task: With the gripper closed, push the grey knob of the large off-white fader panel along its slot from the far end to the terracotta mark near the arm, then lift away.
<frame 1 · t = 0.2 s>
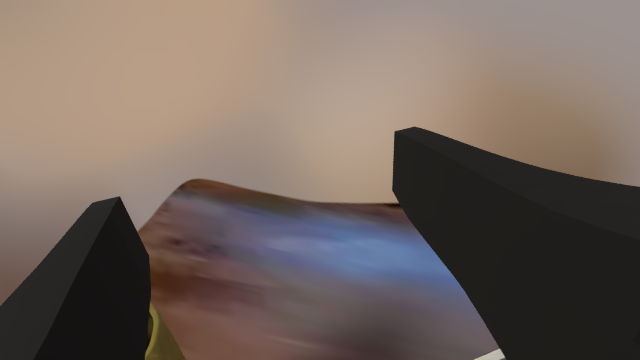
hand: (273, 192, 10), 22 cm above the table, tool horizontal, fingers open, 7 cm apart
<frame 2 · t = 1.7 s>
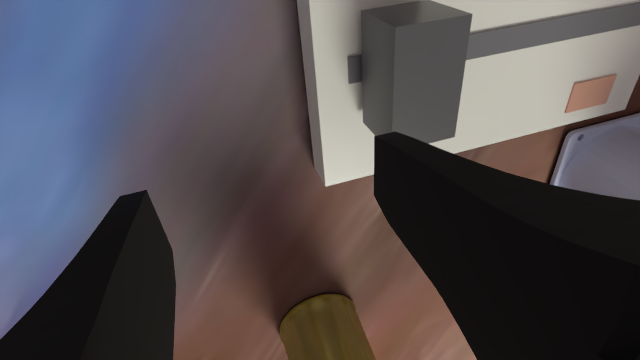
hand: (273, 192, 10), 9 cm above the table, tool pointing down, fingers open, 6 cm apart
fader panel: (484, 29, 20), on the table
vase: (316, 317, 30), on the table
fader knob: (409, 76, 16), point 4 cm above the table, slide at 0.0 cm
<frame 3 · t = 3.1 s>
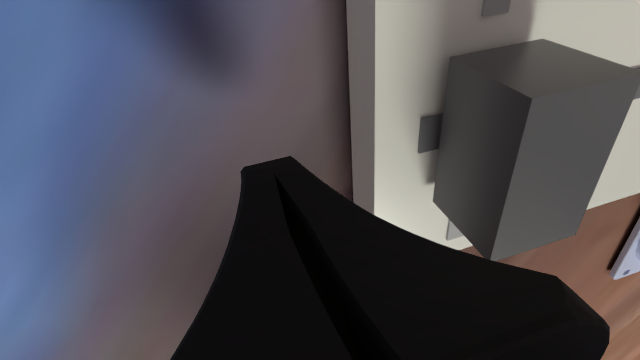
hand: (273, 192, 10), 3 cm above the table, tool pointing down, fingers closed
fader panel: (585, 66, 15), on the table
fader knob: (516, 150, 11), point 4 cm above the table, slide at 0.0 cm
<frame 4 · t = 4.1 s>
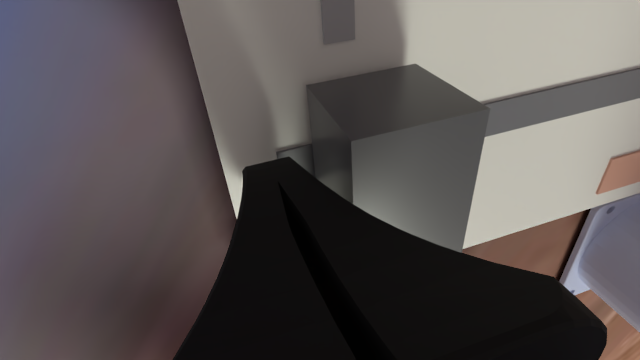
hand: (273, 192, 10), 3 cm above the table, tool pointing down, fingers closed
fader panel: (488, 88, 14), on the table
fader knob: (386, 185, 10), point 4 cm above the table, slide at 0.5 cm, touching gripper
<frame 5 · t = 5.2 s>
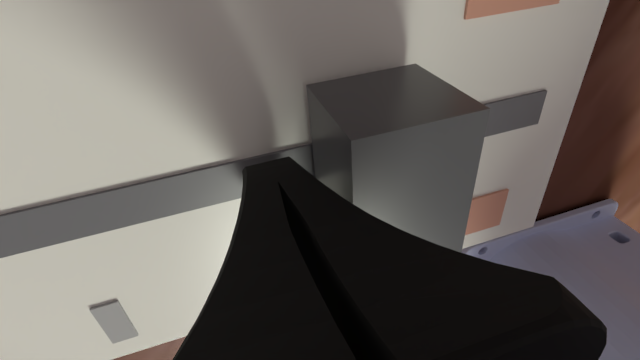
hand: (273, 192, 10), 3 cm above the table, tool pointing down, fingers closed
fader panel: (281, 134, 13), on the table
fader knob: (386, 184, 10), point 4 cm above the table, slide at 8.4 cm, touching gripper
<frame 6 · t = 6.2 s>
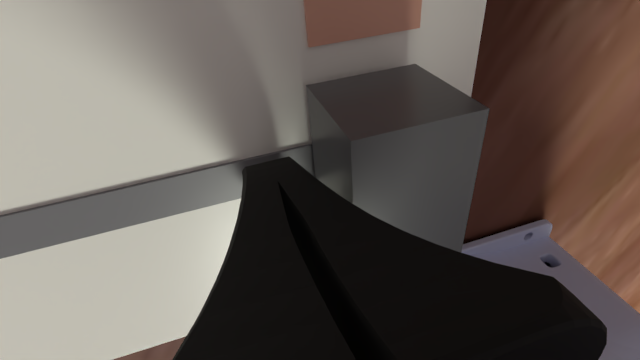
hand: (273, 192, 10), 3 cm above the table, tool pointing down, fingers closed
fader panel: (144, 164, 12), on the table
fader knob: (386, 184, 10), point 4 cm above the table, slide at 12.8 cm, touching gripper
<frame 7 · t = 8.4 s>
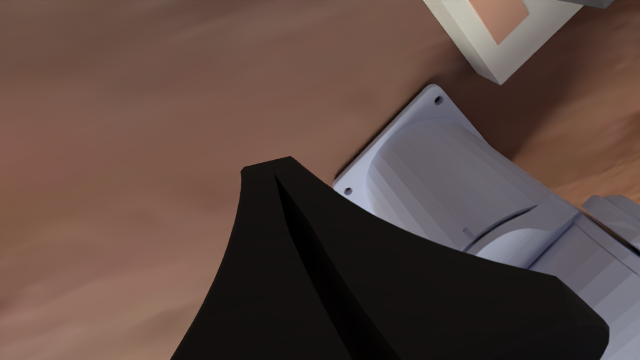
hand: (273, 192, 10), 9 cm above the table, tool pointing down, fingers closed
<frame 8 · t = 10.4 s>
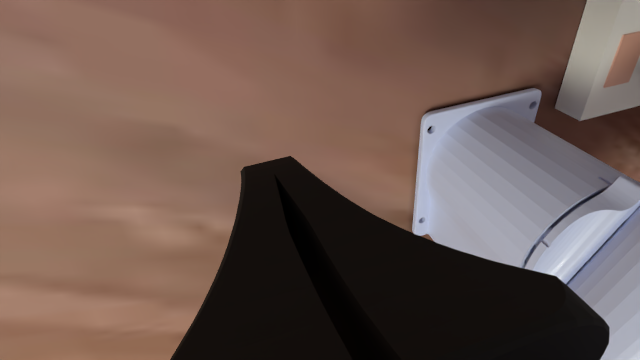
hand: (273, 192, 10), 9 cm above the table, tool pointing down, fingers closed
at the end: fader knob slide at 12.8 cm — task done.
